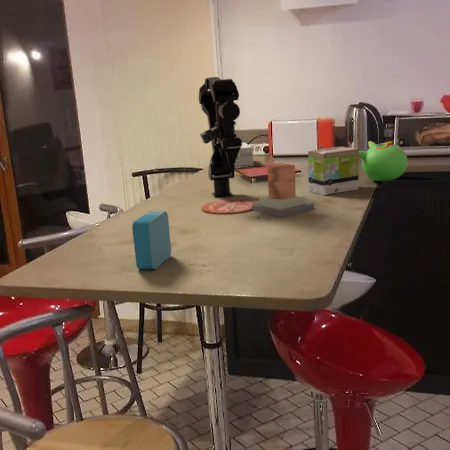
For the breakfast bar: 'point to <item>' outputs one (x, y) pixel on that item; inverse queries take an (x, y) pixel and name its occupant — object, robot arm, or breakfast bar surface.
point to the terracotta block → (281, 181)
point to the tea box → (333, 170)
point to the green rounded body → (383, 161)
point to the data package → (151, 239)
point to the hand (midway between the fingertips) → (228, 166)
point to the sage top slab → (281, 202)
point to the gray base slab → (283, 212)
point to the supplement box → (244, 156)
